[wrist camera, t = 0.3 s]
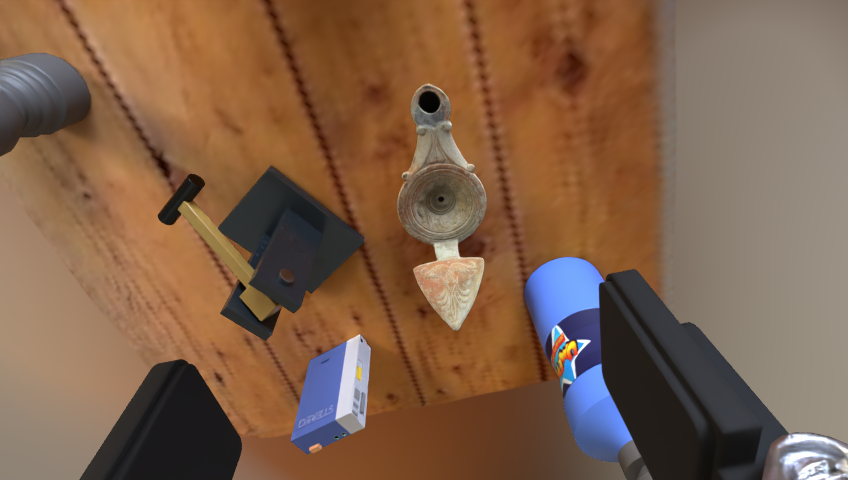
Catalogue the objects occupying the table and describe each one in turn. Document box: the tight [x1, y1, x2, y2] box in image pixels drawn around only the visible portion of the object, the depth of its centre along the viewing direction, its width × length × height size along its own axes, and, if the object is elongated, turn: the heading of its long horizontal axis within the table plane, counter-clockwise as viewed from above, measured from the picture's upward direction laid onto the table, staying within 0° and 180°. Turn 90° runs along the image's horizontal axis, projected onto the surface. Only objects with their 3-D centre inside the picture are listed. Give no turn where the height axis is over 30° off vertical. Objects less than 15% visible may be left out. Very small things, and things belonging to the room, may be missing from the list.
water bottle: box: [524, 257, 653, 480], centre depth 43 cm, size 9×9×25 cm
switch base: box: [218, 166, 364, 341], centre depth 43 cm, size 12×9×13 cm
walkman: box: [291, 334, 371, 454], centre depth 53 cm, size 8×3×12 cm, turn 122°
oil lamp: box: [397, 84, 487, 331], centre depth 43 cm, size 9×21×10 cm, turn 6°
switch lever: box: [158, 174, 283, 321], centre depth 39 cm, size 13×5×2 cm, turn 45°
